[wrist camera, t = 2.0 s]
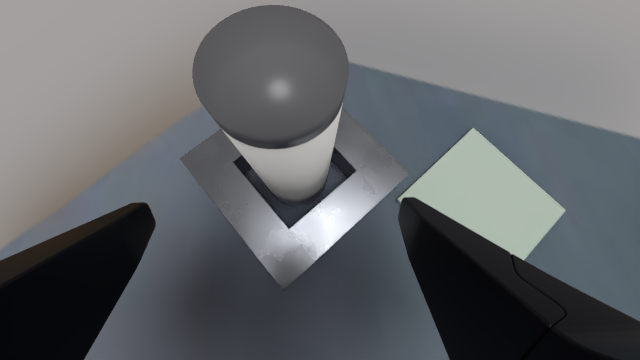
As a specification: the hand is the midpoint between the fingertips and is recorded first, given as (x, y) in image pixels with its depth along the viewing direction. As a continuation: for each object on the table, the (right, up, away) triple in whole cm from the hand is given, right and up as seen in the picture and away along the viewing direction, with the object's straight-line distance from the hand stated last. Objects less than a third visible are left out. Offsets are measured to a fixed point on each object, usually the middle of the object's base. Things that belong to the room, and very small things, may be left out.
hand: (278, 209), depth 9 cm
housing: (0, +1, +12) cm, 12 cm away
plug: (0, +1, +12) cm, 12 cm away
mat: (+15, -1, +12) cm, 19 cm away
